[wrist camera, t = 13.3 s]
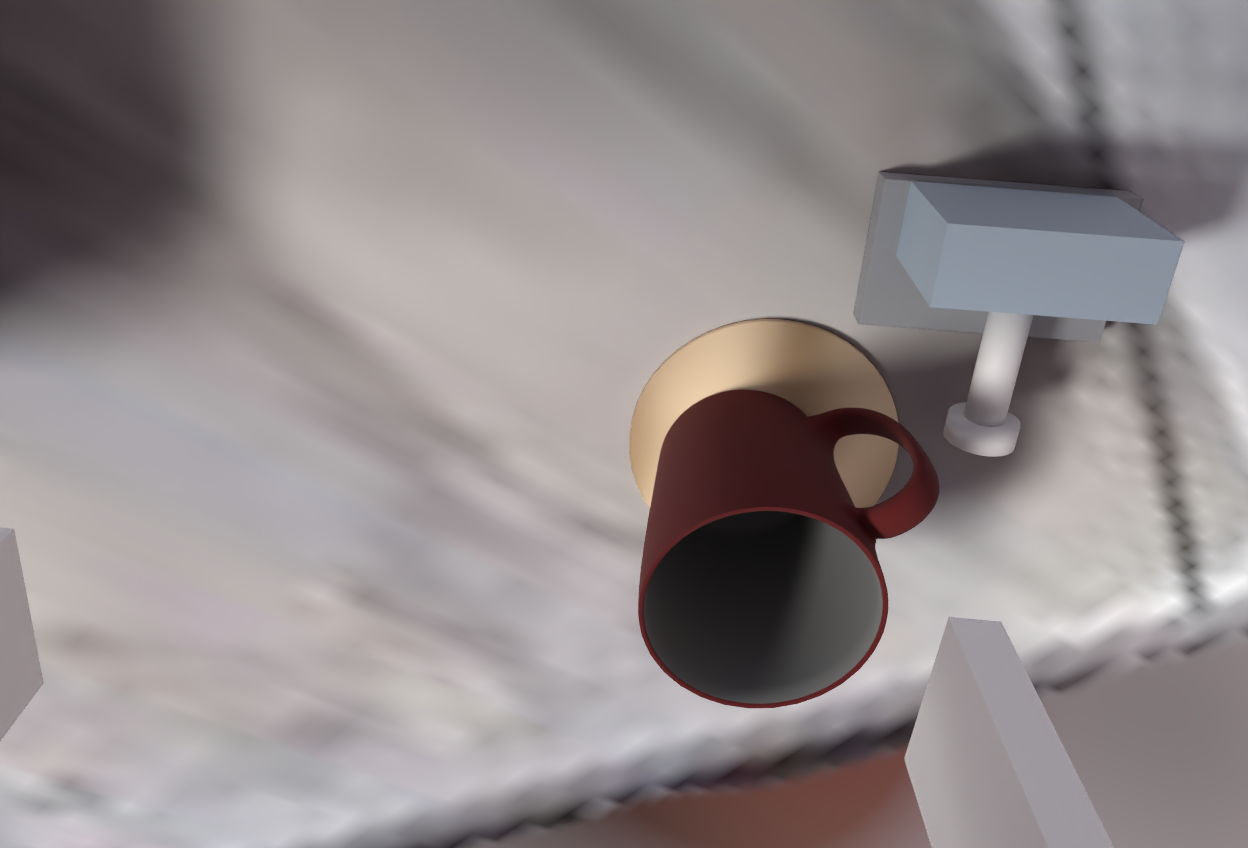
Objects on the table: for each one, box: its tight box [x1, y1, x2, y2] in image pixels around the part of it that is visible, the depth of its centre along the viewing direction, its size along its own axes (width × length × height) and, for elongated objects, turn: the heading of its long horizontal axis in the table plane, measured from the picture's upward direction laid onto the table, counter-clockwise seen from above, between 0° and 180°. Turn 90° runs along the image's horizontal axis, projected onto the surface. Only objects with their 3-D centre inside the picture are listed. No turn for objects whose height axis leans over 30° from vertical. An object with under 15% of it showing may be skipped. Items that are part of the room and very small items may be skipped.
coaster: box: [630, 319, 899, 508], centre depth 47 cm, size 12×12×1 cm
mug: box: [638, 390, 939, 708], centre depth 42 cm, size 12×9×11 cm
